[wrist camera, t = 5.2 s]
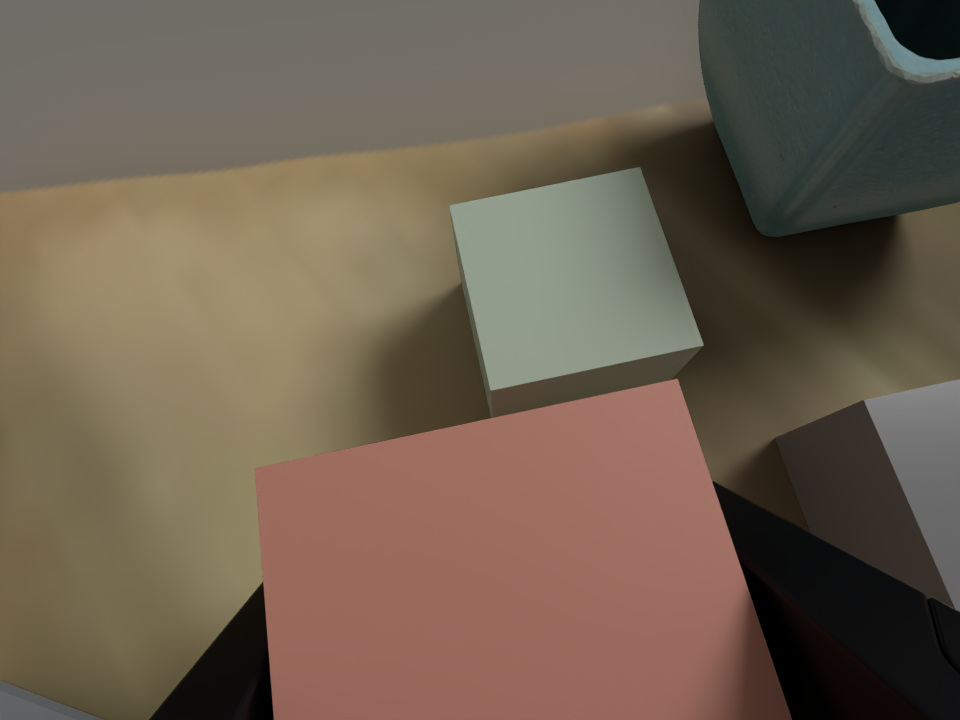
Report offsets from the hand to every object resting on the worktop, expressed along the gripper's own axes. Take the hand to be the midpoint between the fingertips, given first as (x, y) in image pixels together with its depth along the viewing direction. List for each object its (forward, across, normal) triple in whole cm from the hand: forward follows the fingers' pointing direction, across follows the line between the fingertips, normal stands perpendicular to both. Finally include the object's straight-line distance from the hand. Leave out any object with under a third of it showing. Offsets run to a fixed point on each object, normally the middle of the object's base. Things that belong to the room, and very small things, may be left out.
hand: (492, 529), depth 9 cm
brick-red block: (+4, 0, +6) cm, 7 cm away
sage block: (+10, -3, +2) cm, 10 cm away
